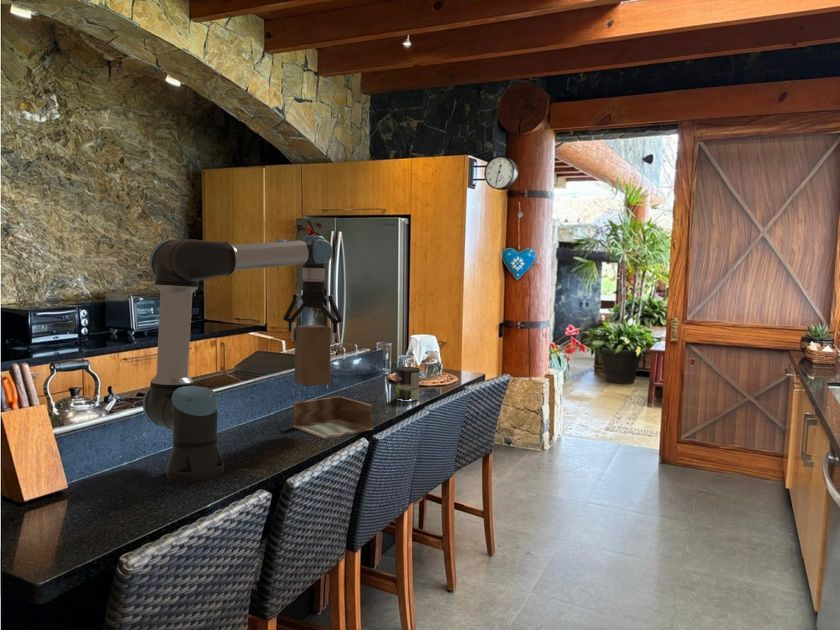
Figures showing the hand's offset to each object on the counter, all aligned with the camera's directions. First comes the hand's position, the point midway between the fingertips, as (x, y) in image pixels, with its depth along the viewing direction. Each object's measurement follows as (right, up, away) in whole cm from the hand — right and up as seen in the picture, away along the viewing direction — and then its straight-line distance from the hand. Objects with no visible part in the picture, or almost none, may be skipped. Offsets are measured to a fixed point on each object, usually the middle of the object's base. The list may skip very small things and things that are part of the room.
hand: (312, 342), depth 222 cm
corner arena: (+6, -31, +4) cm, 32 cm away
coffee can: (+32, -28, +53) cm, 68 cm away
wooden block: (0, -15, 0) cm, 15 cm away
